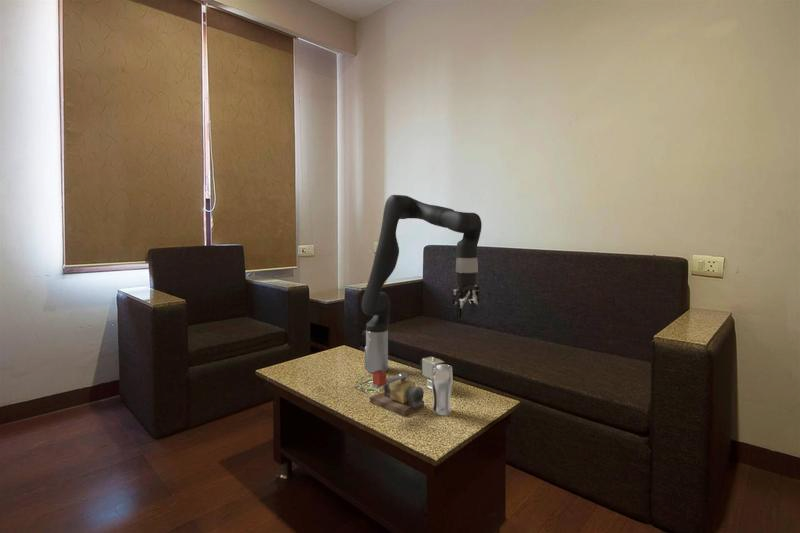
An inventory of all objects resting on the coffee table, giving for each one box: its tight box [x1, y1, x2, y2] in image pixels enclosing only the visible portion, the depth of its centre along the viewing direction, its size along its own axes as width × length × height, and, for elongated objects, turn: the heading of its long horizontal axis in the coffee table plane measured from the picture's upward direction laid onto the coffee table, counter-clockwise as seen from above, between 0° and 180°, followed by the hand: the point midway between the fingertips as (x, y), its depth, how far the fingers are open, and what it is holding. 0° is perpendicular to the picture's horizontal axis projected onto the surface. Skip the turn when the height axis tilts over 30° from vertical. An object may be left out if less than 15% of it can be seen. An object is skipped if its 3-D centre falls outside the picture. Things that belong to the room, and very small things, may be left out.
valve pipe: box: [369, 376, 425, 417], centre depth 145 cm, size 17×10×10 cm, turn 47°
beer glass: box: [430, 363, 454, 416], centre depth 140 cm, size 7×7×15 cm
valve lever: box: [372, 370, 408, 389], centre depth 140 cm, size 14×3×5 cm, turn 137°
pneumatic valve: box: [419, 356, 447, 390], centre depth 160 cm, size 6×12×12 cm, turn 34°
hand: (466, 316), depth 149 cm, fingers open, 8 cm apart
